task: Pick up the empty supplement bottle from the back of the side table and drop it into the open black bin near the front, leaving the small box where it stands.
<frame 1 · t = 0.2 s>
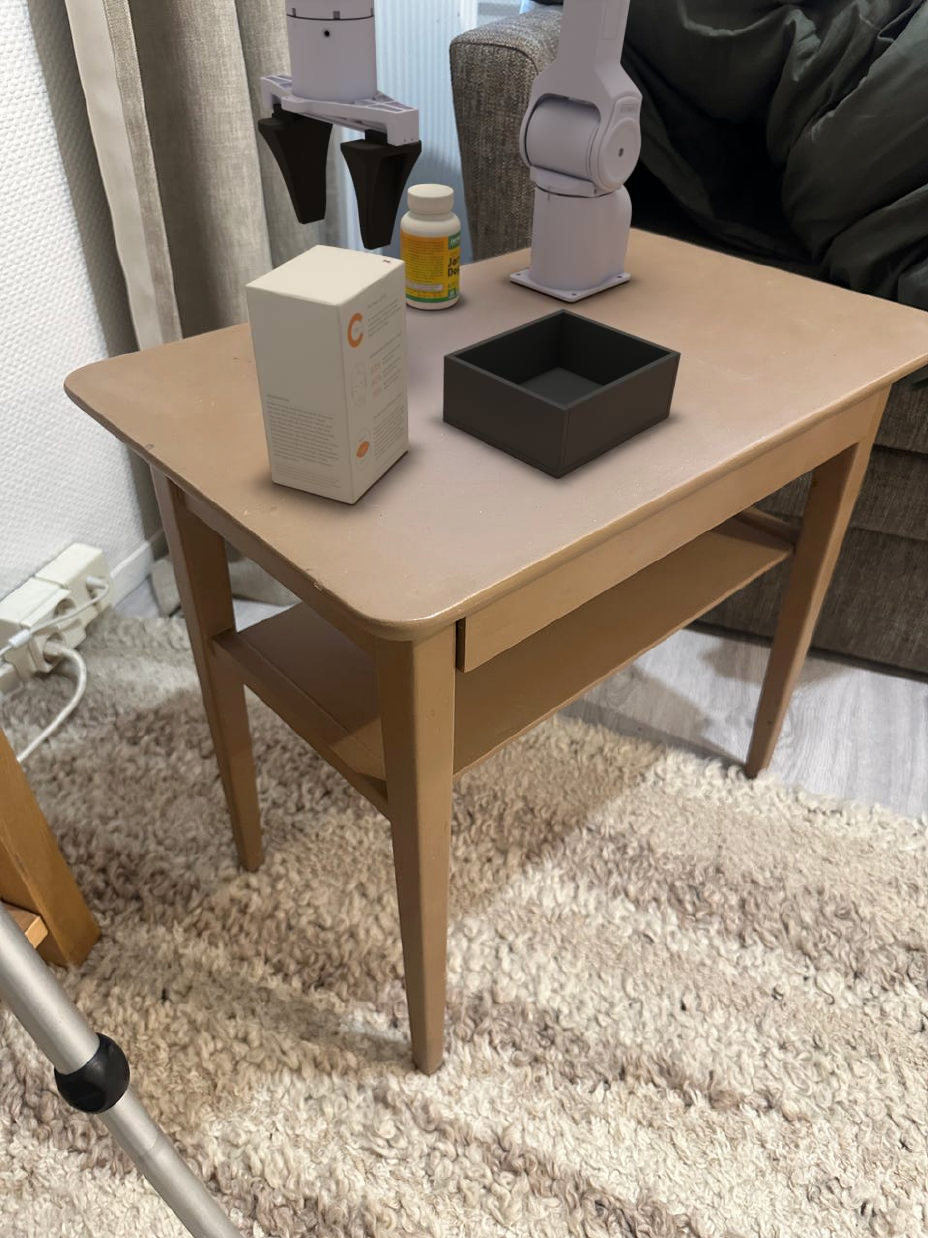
hand: (343, 233, 67), 10 cm above the table, tool pointing down, fingers open, 7 cm apart
small box: (341, 468, 61), on the table
open black bin: (557, 418, 67), on the table
supplement bottle: (430, 302, 84), on the table
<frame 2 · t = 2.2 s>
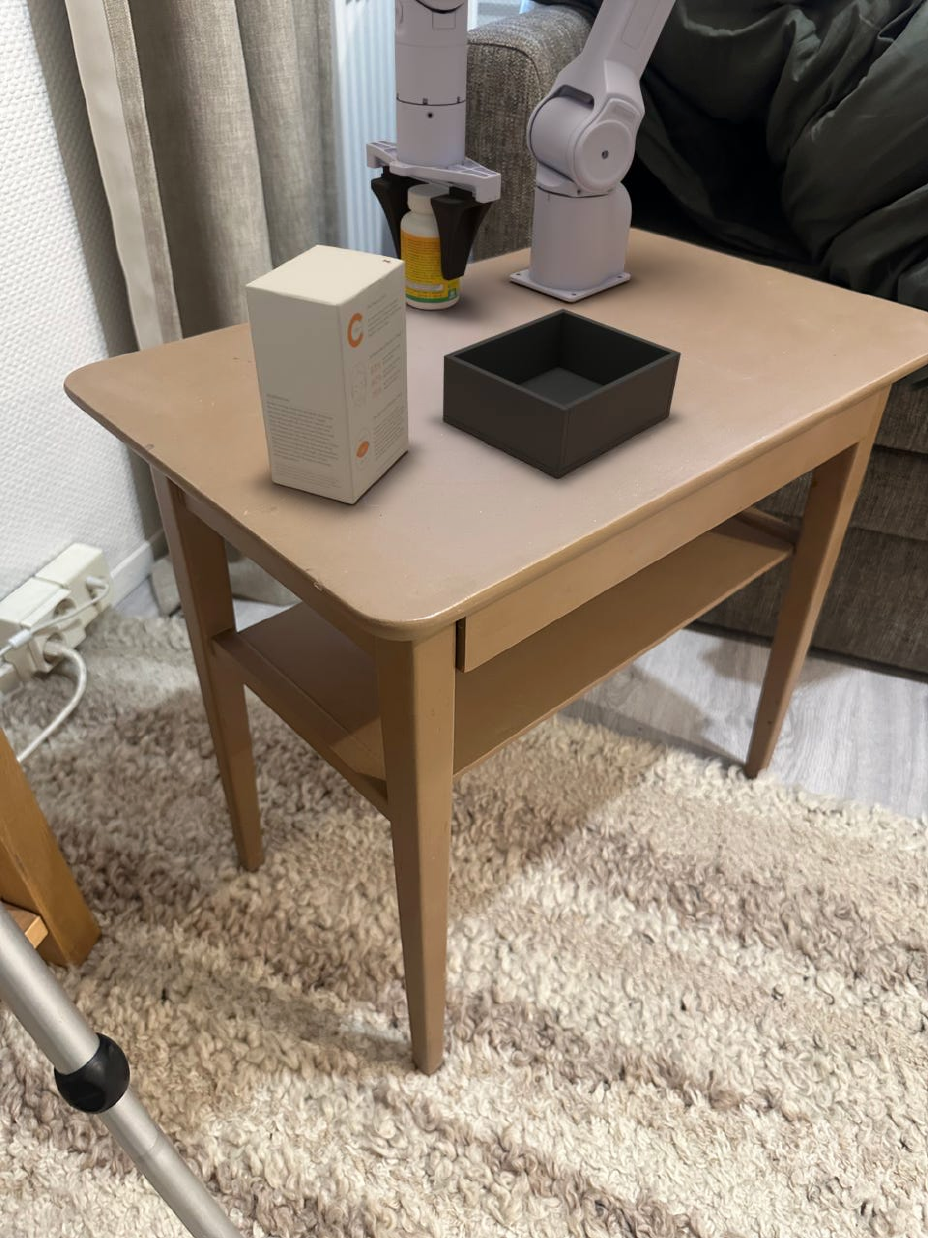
hand: (430, 268, 82), 3 cm above the table, tool pointing down, fingers closed on supplement bottle, 5 cm apart
supplement bottle: (430, 302, 84), on the table, touching gripper
everything else where it was.
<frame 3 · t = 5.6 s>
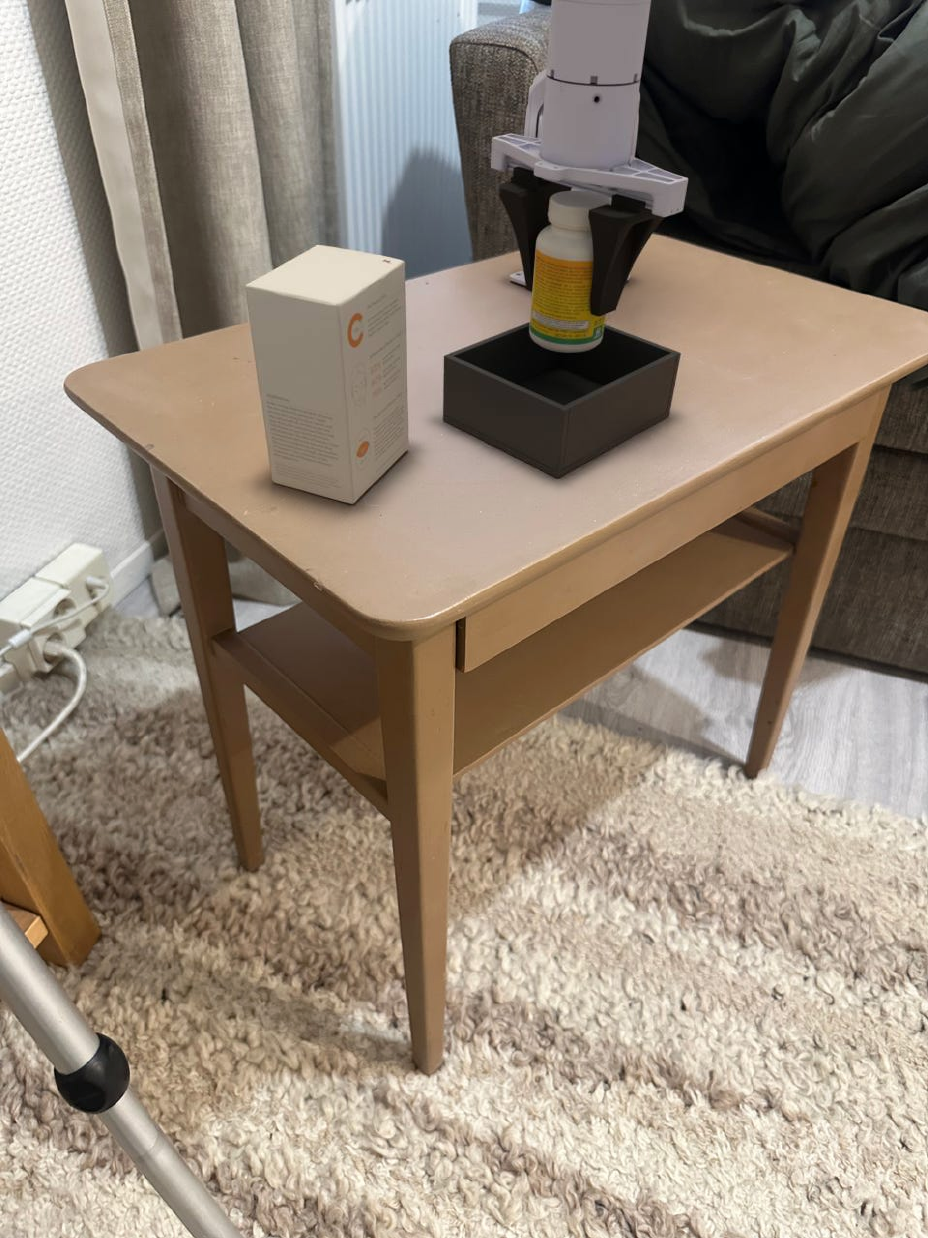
hand: (569, 299, 63), 8 cm above the table, tool pointing down, fingers closed on supplement bottle, 5 cm apart
supplement bottle: (565, 341, 65), point 5 cm above the table, touching gripper
everything else where it was.
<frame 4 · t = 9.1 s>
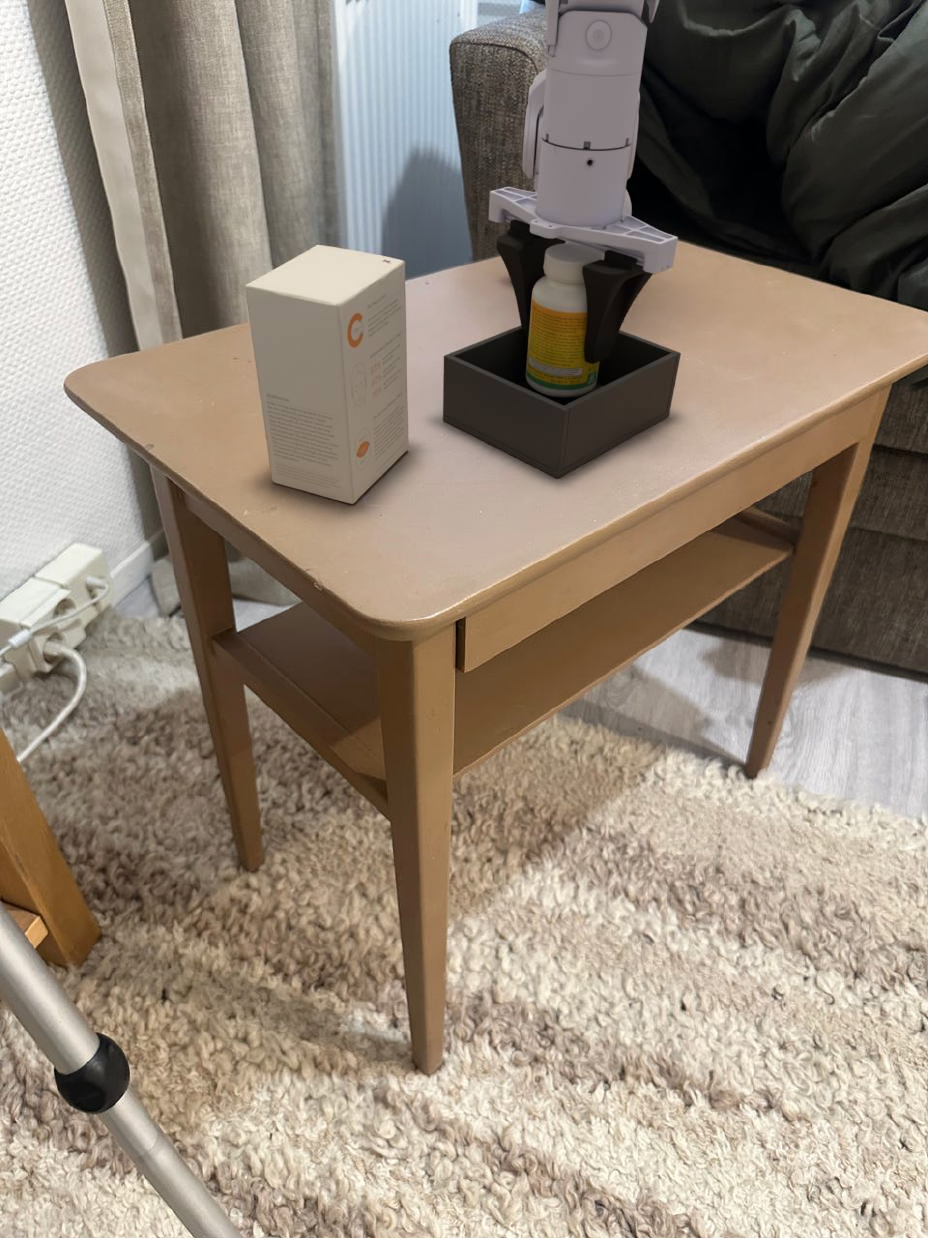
hand: (564, 345, 66), 5 cm above the table, tool pointing down, fingers closed on supplement bottle, 5 cm apart
supplement bottle: (560, 385, 67), point 1 cm above the table, touching gripper
everything else where it was.
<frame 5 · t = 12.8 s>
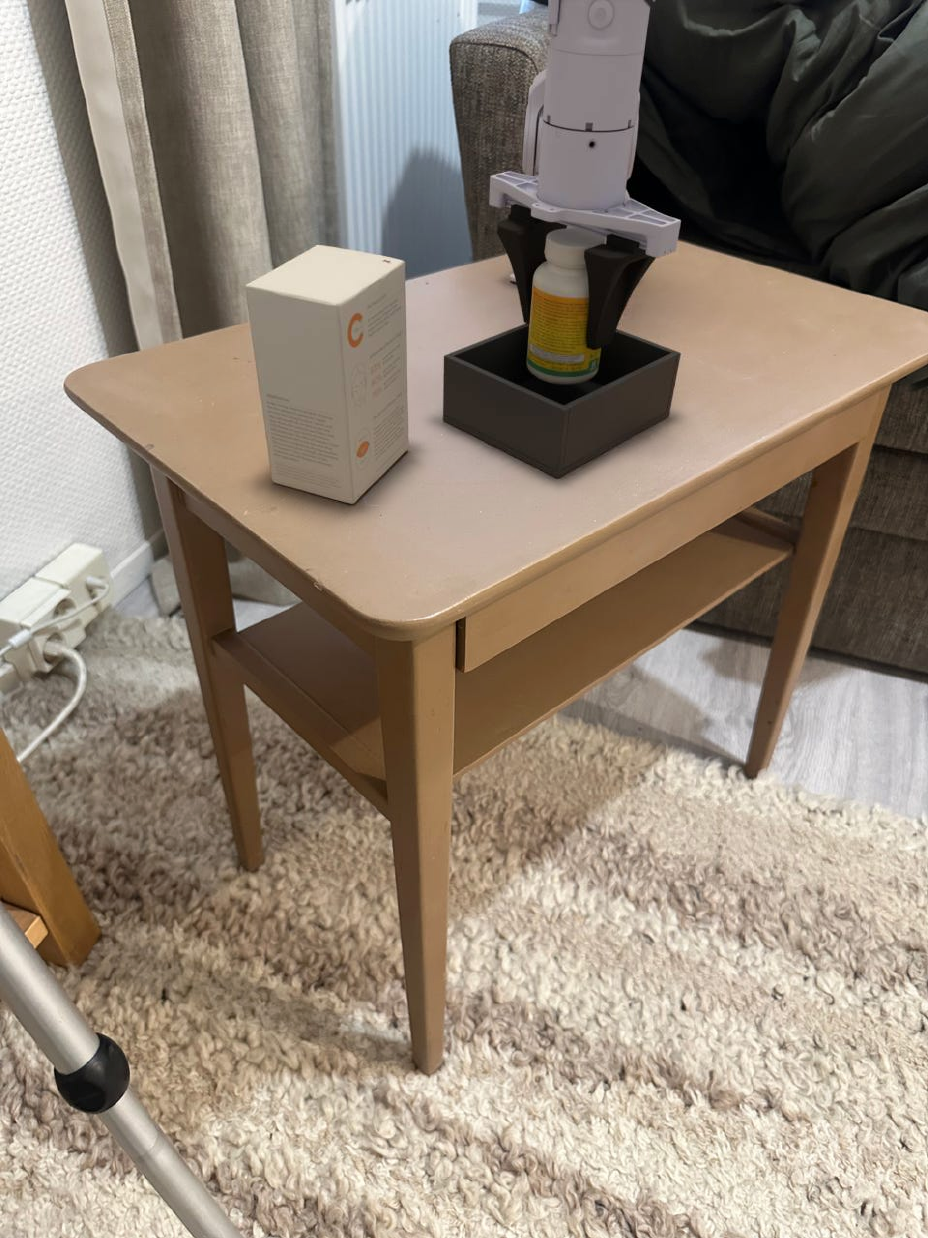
hand: (566, 332, 65), 6 cm above the table, tool pointing down, fingers closed on supplement bottle, 5 cm apart
supplement bottle: (561, 372, 67), point 2 cm above the table, touching gripper
everything else where it was.
when the fingers open (6 cm above the table, at t = 16.0 s): supplement bottle drops 2 cm, resting on open black bin.
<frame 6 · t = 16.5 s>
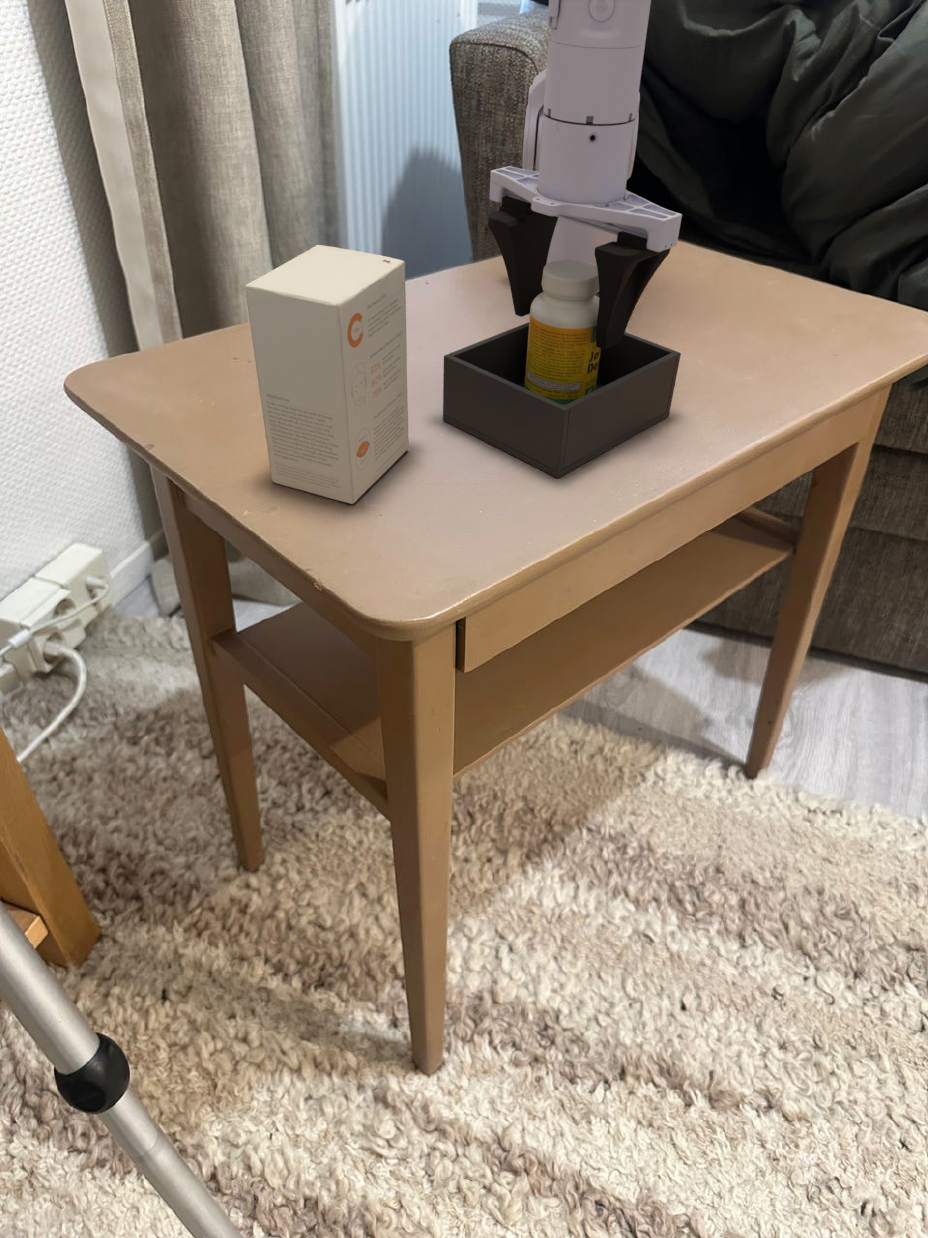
hand: (566, 327, 65), 6 cm above the table, tool pointing down, fingers open, 7 cm apart
supplement bottle: (558, 399, 68), resting on open black bin
everything else where it was.
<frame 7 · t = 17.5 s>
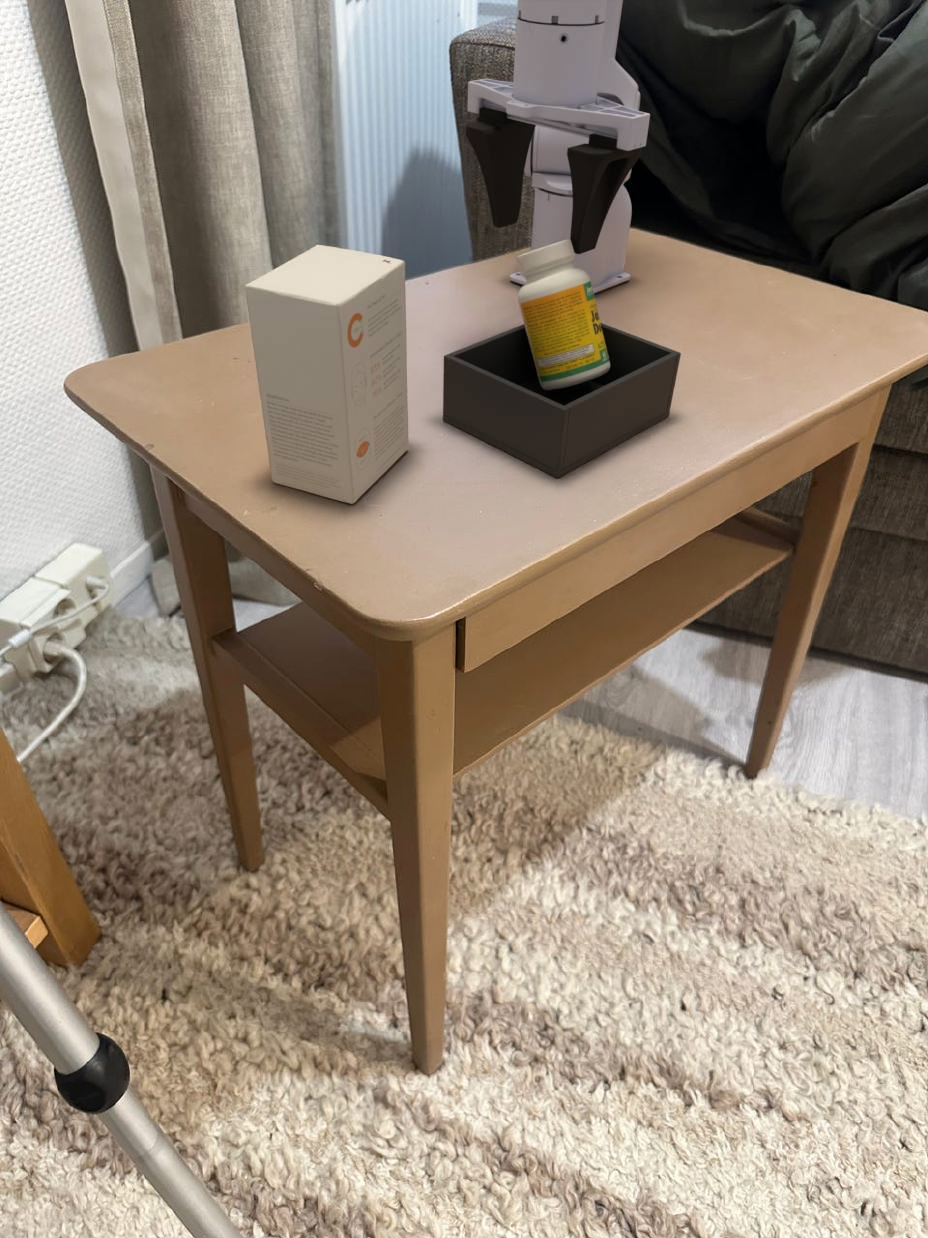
hand: (543, 236, 67), 10 cm above the table, tool pointing down, fingers open, 7 cm apart
supplement bottle: (577, 383, 67), point 2 cm above the table, touching open black bin
everything else where it was.
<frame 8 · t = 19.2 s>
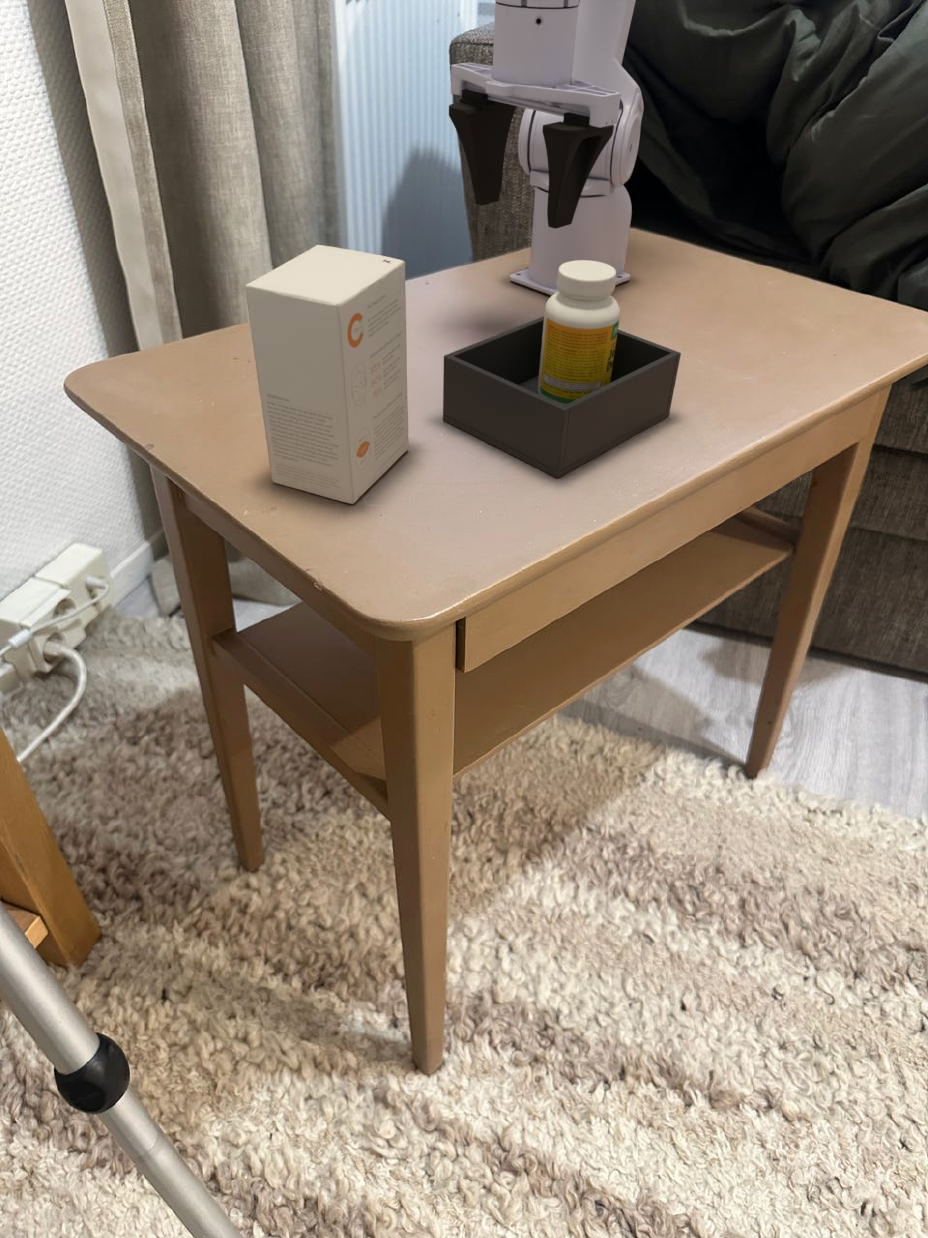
hand: (522, 213, 70), 10 cm above the table, tool pointing down, fingers open, 7 cm apart
supplement bottle: (572, 399, 68), resting on open black bin
everything else where it was.
at the end: supplement bottle inside the target area in the open black bin (2.8 cm from its centre), point 0.3 cm above the open black bin's base; the gripper is holding nothing; small box moved 0.2 cm from its start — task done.
